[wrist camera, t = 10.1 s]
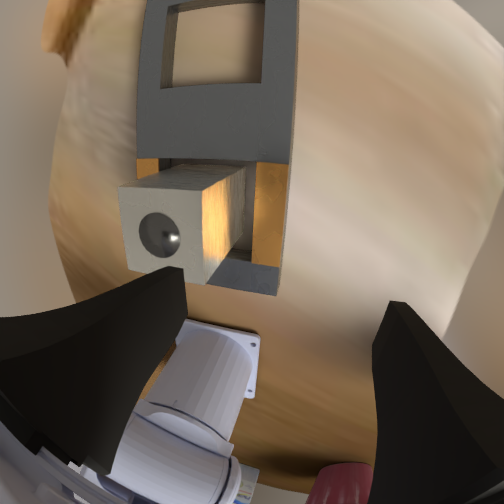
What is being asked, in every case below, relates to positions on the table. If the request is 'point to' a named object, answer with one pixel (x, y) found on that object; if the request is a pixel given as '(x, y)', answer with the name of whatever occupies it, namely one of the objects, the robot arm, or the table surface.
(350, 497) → the plant pot
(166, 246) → the grey rectangular block
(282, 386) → the table surface
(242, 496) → the medicine box
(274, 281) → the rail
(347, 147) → the table surface
